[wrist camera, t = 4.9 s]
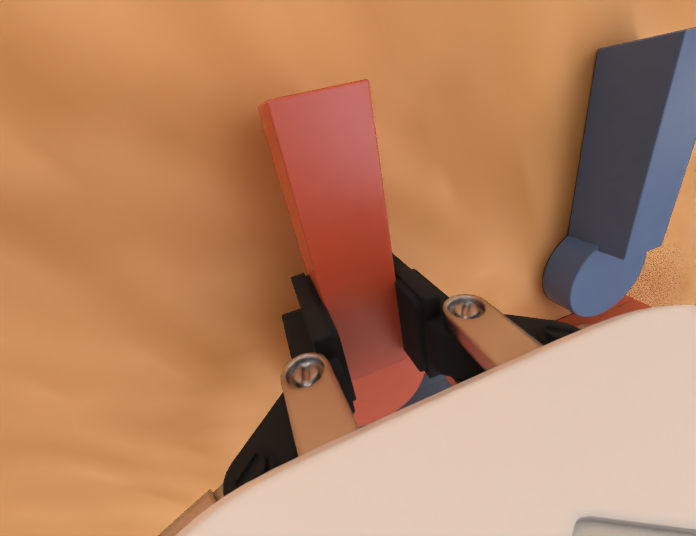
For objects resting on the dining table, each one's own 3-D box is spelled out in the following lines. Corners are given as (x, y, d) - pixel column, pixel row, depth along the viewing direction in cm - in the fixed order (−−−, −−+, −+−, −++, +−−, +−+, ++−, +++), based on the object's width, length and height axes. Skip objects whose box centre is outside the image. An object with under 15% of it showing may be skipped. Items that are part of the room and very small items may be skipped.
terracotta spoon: (208, 116, 9) (197, 115, 6) (374, 80, 10) (424, 66, 7) (319, 412, 15) (336, 470, 13) (411, 372, 16) (444, 419, 14)
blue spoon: (571, 54, 13) (655, 36, 10) (664, 33, 14) (764, 12, 11) (538, 313, 19) (584, 342, 16) (603, 286, 20) (656, 310, 17)
